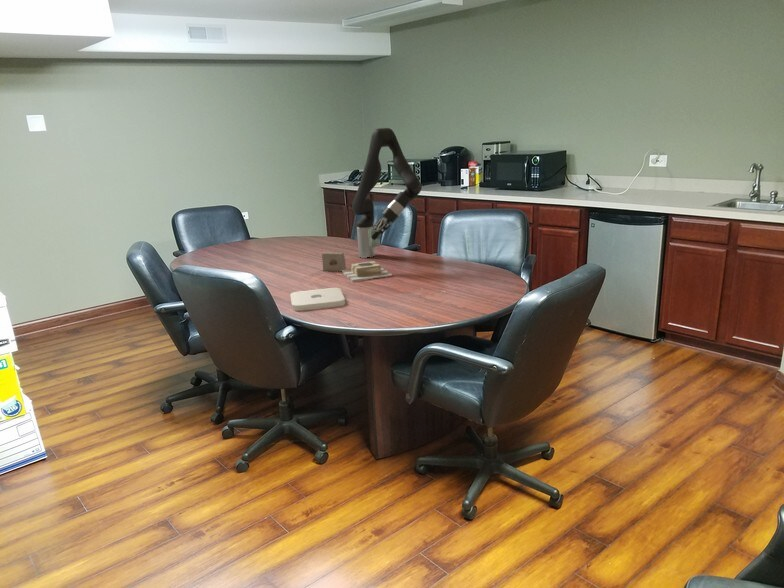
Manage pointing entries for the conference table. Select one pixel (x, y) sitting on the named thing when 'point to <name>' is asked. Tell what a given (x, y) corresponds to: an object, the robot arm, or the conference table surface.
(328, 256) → the fossil
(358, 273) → the stand
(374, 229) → the post
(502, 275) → the conference table surface
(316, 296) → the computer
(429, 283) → the conference table surface
